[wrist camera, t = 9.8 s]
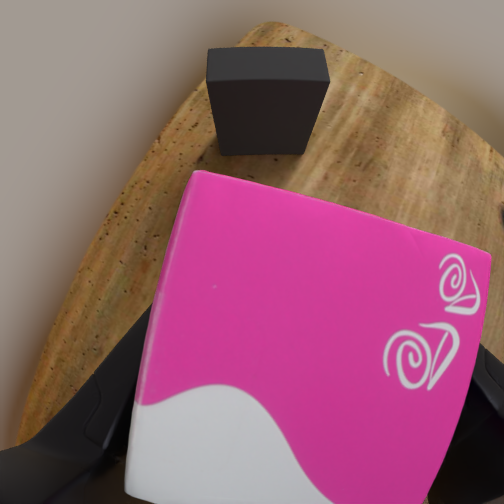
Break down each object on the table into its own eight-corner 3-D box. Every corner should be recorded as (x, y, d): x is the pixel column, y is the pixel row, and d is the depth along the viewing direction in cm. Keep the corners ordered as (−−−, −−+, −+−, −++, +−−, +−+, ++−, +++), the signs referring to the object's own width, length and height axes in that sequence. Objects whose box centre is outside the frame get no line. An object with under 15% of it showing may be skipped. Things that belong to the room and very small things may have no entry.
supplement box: (314, 391, 15) (413, 533, 4) (200, 366, 15) (101, 492, 4) (341, 281, 16) (503, 248, 4) (227, 254, 16) (169, 156, 5)
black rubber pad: (303, 154, 22) (330, 82, 14) (221, 156, 22) (205, 81, 14) (300, 126, 23) (323, 48, 14) (221, 128, 23) (207, 48, 14)
